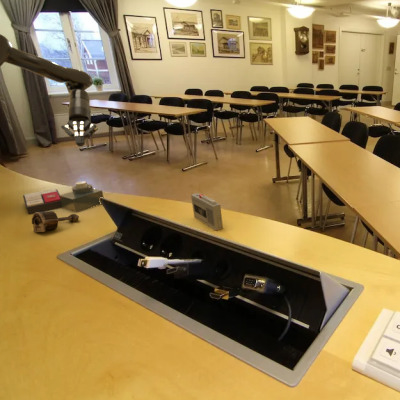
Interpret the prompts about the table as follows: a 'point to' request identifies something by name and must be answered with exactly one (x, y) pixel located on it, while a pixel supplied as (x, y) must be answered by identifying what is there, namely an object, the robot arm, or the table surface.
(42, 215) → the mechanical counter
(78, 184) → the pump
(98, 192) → the olive block with knob
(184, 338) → the table surface
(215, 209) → the cassette player
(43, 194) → the dark box with panels
